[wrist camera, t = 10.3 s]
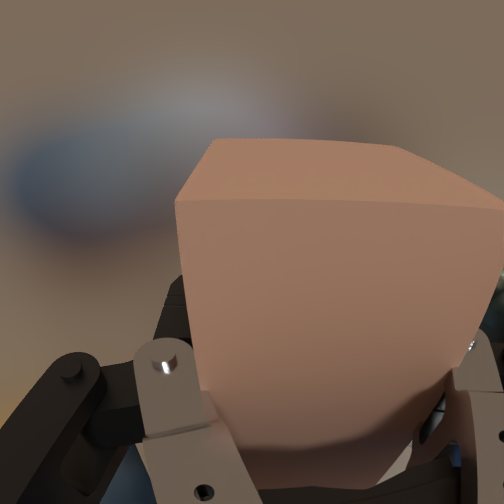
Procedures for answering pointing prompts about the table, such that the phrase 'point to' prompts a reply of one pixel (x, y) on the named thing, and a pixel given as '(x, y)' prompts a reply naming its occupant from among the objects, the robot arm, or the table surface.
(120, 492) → the table surface
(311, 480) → the terracotta block
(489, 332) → the table surface
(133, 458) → the table surface
